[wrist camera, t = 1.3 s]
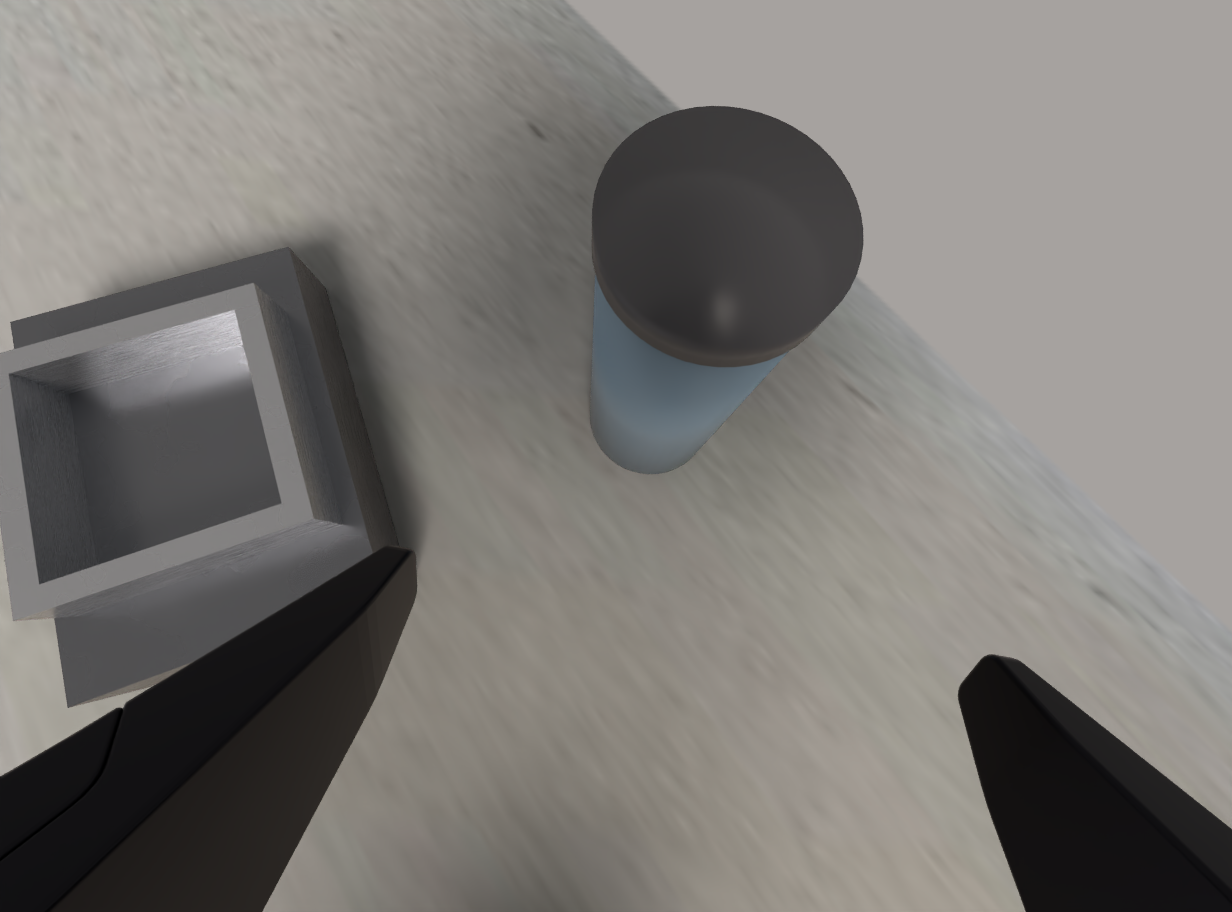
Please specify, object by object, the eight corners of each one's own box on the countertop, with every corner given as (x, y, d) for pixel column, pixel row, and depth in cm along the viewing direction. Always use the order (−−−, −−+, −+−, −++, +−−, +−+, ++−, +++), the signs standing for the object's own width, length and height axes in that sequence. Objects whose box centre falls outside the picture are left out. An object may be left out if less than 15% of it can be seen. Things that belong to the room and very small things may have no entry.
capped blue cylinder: (701, 486, 22) (855, 369, 10) (577, 464, 22) (569, 317, 10) (716, 370, 24) (870, 132, 11) (599, 349, 23) (616, 85, 11)
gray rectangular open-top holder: (411, 590, 21) (358, 594, 16) (145, 687, 19) (-2, 725, 14) (325, 288, 23) (257, 212, 18) (86, 355, 22) (-55, 293, 17)
